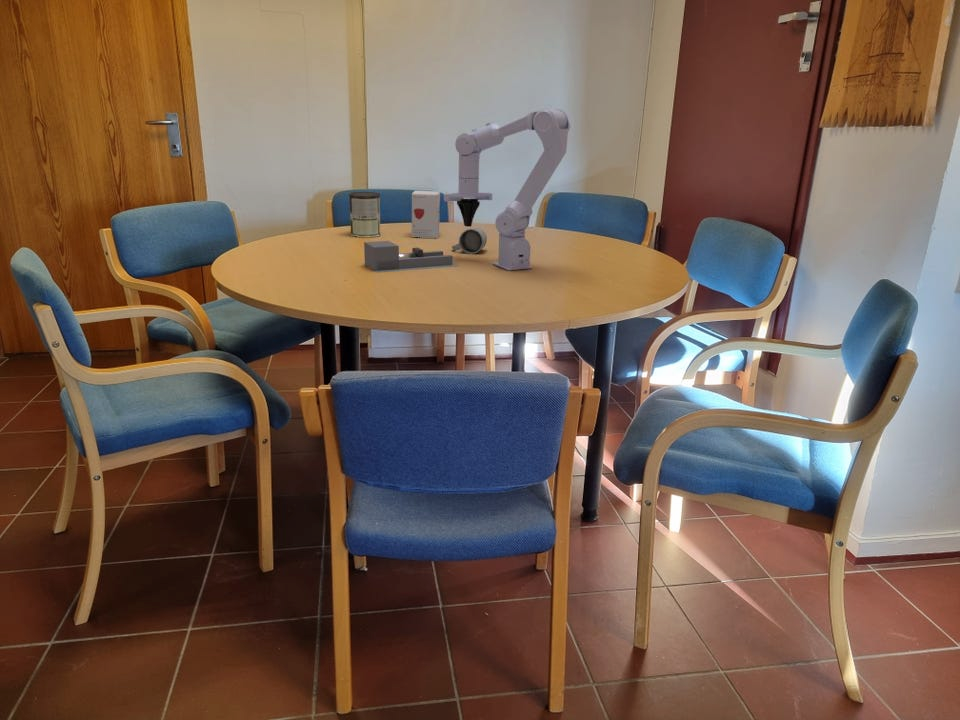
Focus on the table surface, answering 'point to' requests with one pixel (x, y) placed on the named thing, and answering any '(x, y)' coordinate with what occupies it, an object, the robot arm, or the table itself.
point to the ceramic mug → (471, 240)
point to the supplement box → (425, 214)
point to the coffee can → (365, 214)
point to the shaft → (415, 253)
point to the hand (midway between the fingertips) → (467, 226)
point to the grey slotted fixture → (387, 258)
